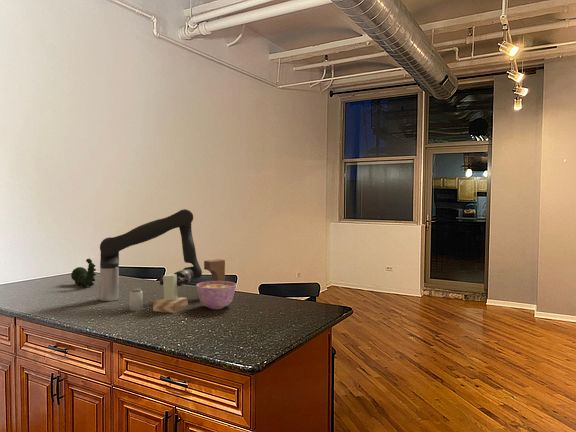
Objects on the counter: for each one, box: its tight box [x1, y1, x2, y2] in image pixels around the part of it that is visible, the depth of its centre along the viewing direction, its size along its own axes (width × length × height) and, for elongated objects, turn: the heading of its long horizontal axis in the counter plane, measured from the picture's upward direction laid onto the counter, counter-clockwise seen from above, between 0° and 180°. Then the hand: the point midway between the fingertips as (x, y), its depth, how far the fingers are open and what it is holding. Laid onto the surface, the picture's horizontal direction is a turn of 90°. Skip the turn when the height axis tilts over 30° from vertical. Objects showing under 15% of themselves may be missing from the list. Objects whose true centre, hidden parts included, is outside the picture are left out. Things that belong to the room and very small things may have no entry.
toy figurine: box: [71, 258, 97, 288], centre depth 267 cm, size 9×19×25 cm
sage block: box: [162, 273, 179, 301], centre depth 212 cm, size 5×5×12 cm
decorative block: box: [203, 258, 226, 281], centre depth 244 cm, size 11×6×20 cm, turn 136°
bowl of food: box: [195, 280, 237, 310], centre depth 216 cm, size 20×20×12 cm
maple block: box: [152, 296, 189, 314], centre depth 212 cm, size 12×12×5 cm
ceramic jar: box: [129, 287, 144, 312], centre depth 210 cm, size 6×6×10 cm
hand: (169, 283), depth 209 cm, fingers open, 8 cm apart
